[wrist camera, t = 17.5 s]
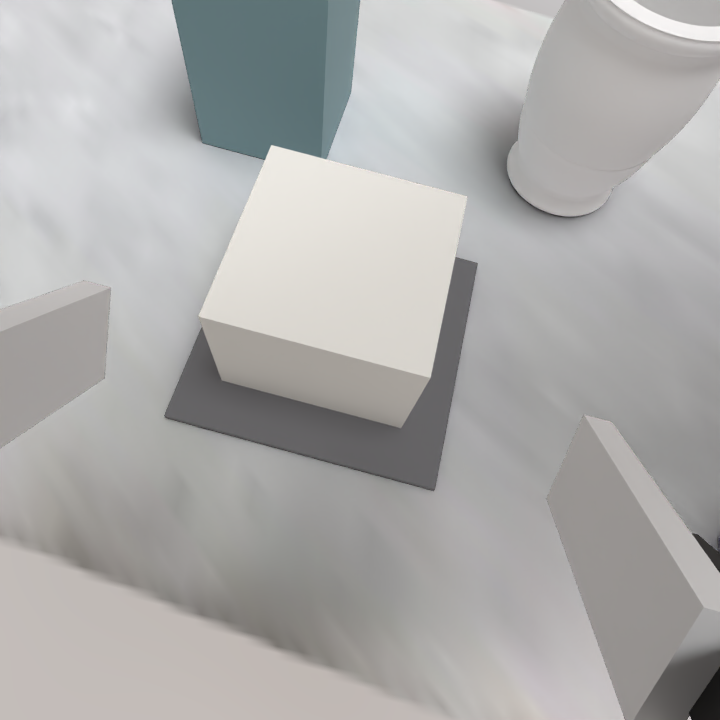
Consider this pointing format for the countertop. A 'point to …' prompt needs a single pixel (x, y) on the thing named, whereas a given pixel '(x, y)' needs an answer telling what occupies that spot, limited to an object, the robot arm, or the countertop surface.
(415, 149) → the countertop surface
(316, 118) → the base
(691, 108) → the jar
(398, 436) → the mat
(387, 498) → the countertop surface
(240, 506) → the countertop surface
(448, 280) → the lid
